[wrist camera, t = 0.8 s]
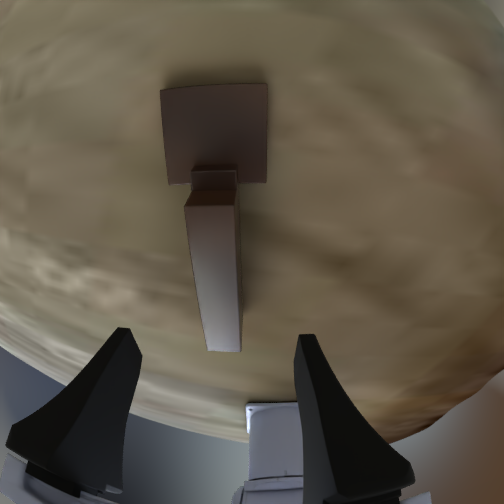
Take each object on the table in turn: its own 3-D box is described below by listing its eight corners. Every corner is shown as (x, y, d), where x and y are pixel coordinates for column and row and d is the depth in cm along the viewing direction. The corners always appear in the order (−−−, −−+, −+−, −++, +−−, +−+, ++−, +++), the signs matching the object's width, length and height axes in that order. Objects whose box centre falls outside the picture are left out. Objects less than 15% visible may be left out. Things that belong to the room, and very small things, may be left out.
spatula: (262, 316, 20) (263, 352, 17) (193, 314, 20) (185, 349, 17) (267, 83, 12) (270, 83, 9) (163, 89, 12) (139, 93, 9)
